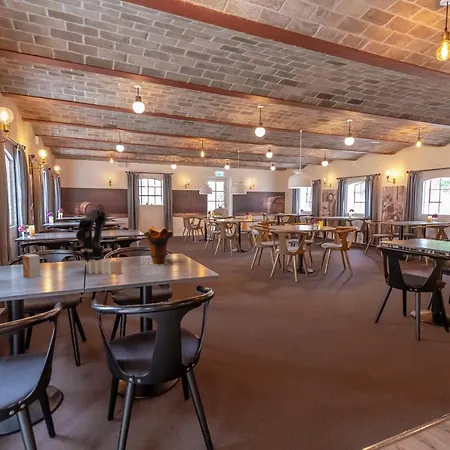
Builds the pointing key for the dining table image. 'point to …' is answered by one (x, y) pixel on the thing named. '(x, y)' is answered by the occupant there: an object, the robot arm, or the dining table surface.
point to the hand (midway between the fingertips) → (88, 262)
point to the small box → (31, 265)
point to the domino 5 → (117, 267)
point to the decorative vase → (158, 245)
